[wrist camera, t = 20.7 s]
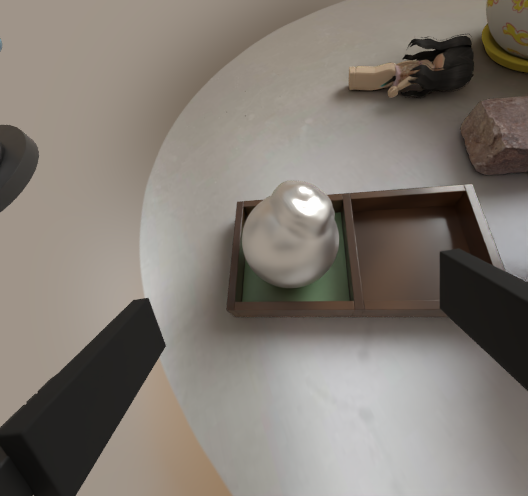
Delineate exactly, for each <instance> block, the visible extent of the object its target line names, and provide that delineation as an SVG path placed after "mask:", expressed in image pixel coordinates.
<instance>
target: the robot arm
mask: <svg viewBox="0 0 528 496" xmlns="http://www.w3.org/2000/svg"><path fill="white" fill-rule="evenodd" d="M1 49H2V41H1V39H0V51H1ZM4 154H5V149H4V146H3V144H2V143H1V142H0V166H1V164H2V161H3V159H4ZM440 309H441V310H442V311H443V312H444V313H445V314H446V315H447V316H448V317H449V318H450V319H452V320H453V321H454V322H455V323H456V324H457V325H458V326H459V327H460V328H461V329H462V330H463V331H464V332H465V333H466V334H468V335H469V336H470V337H471V338H472V339H473V340H474V341H475V342H476V343H477V344H478V345H479V346H480V347H481V348H483V349H484V350H485V351H486V352H487V353H488V354H489V355H490V356H491V357H492V358H493V359H494V360H495V361H496V362H498V363H499V364H500V365H501V366H502V367H503V368H504V369H505V370H506V371H507V372H508V373H509V374H510V375H511V376H512V377H514V378H515V379H516V380H517V381H518V382H519V383H520V384H521V385H522V386H523V387H524V388H525V389H526V390H527V391H528V283H527V282H525V281H523V280H521V279H519V278H517V277H515V276H513V275H511V274H509V273H507V272H505V271H503V270H501V269H499V268H497V267H495V266H493V265H491V264H489V263H487V262H485V261H483V260H481V259H479V258H477V257H475V256H473V255H471V254H469V253H467V252H465V251H463V250H461V249H459V248H458V249H452V250H446V251H440ZM165 347H166V345H165V342H164V339H163V337H162V334H161V331H160V328H159V326H158V323H157V320H156V318H155V315H154V312H153V309H152V307H151V304H150V301H149V299H148V298H144V299H138V300H133V301H132V302H131V303H130V304H129V305H128V306H127V307H126V308H125V309H124V310H123V311H122V312H121V313H120V314H119V315H118V316H117V317H116V318H115V319H113V320H112V321H111V322H110V323H109V324H108V325H107V326H106V327H105V328H104V329H103V330H102V331H101V332H100V333H99V334H98V335H97V336H96V337H95V338H94V339H93V340H92V341H91V342H90V343H89V344H88V345H87V346H86V347H85V348H84V349H83V350H82V351H81V352H80V353H79V354H78V355H77V356H75V357H74V358H73V359H72V360H71V361H70V362H69V363H68V364H67V365H66V366H65V367H64V368H63V369H62V370H61V371H60V372H59V373H58V374H57V375H55V376H54V377H53V378H51V379H50V380H49V381H48V382H47V383H46V384H45V385H44V386H43V387H42V388H41V389H40V390H39V391H38V393H37V394H34V395H33V396H32V398H30V399H29V400H28V401H27V404H26V405H23V406H22V407H21V408H20V409H19V410H18V411H17V412H16V413H15V414H14V415H13V416H12V417H11V418H10V419H9V420H8V421H6V422H5V423H4V424H3V425H2V426H1V427H0V496H33V495H34V496H76V494H77V492H78V491H79V489H80V487H81V485H82V484H83V482H84V481H85V479H86V477H87V476H88V474H89V473H90V471H91V469H92V468H93V466H94V464H95V463H96V461H97V459H98V457H99V456H100V454H101V453H102V451H103V449H104V448H105V446H106V444H107V443H108V441H109V439H110V438H111V436H112V434H113V433H114V431H115V429H116V428H117V426H118V425H119V423H120V421H121V419H122V418H123V416H124V415H125V413H126V411H127V410H128V408H129V406H130V405H131V403H132V401H133V400H134V398H135V396H136V395H137V393H138V391H139V390H140V388H141V386H142V385H143V383H144V381H145V380H146V378H147V376H148V375H149V373H150V371H151V370H152V368H153V366H154V365H155V363H156V362H157V360H158V358H159V357H160V355H161V353H162V352H163V350H164V348H165Z"/></svg>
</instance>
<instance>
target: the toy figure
mask: <svg viewBox="0 0 528 496" xmlns="http://www.w3.org/2000/svg"><path fill="white" fill-rule="evenodd" d="M462 35H464V34H462ZM469 35H470V34H469ZM457 36H459V35H457ZM453 37H455V36H453ZM422 38H423V37H422ZM425 38H427V37H425ZM451 38H452V37H451ZM434 39H435V38H434ZM436 40H437V39H436ZM440 41H441V40H440ZM411 43H412V45H411ZM471 43H472V42H471V40H470V38H468V37H467V36H459V37H455V38H452V39H449V40H446V41H443V42H437V41H434V40H432V39H423V40H422V39H413V40H412V41H411V42H410V44H409V45H411V46H413V45H418V46H420V47H422V48H424V47H425V49H436V50H434V51H423V52H420V53H417V54H415V55H413V56H412V55H404V58H403V59H408V60H407V61H404V62H401V63H398V64H394V63H386V64H383V65H380V66H376V67H368V66H357V67H356V69H355V67H349V90H353V89H354V90H371V91H372V90H377V89H381V88H385V87H389V86H391V85H392V84H393V86H392V87H390V89H389V90H388V96H389V97H390V98H392V97H395V96H396V95H397V94H398V90H401V89H403V88H405V87H407V86H409V85H411V84H419V85H421V86H422V87H423V88H425V90H423V91H421V92H418V91H408V92H405V93H404V92H401V94H402V95H404V96H411V95H414V96H424V95H426V94H428V93H429V92H431V91H432V90H453V89H458V88H460V87H462V86H464V85H466V84H467V83H469V81H470V79H471V77H472V76H473V74H472V72H473V68H474V62H473V51H472V48H471V45H472V44H471ZM411 46H410V47H411ZM408 47H409V46H408ZM407 49H408V48H407ZM403 59H402V60H403ZM415 59H417V60H415ZM431 62H432V63H431ZM464 87H465V86H464ZM458 90H459V89H458ZM455 91H456V90H455ZM445 92H450V91H445ZM451 92H452V91H451ZM429 94H430V93H429ZM426 96H427V95H426ZM424 97H425V96H424ZM406 98H407V97H406ZM409 98H410V97H409ZM416 98H417V97H416ZM422 98H423V97H422Z"/></svg>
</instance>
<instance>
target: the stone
mask: <svg viewBox="0 0 528 496" xmlns="http://www.w3.org/2000/svg"><path fill="white" fill-rule="evenodd" d="M460 130H461V134H462V137H463V138H464V139H465V146H466V147H467V152H468V154H469V159H470V160H471V163H472V165H474V167H475V170H476V171H478V172H480V173H482V174H485V175H496V174H506V173H518V172H528V96H525V97H522V96H517V97H510V98H493V99H486V100H482V101H480V102H479V103H478V104H477V105H476V107H475V108H474V109H473V110H472V111H471V112H470V113H469V115H468V116H467V117H466V118H465V120H464V122H463V123H462V124H461V128H460Z"/></svg>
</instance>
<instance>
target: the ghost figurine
mask: <svg viewBox="0 0 528 496" xmlns="http://www.w3.org/2000/svg"><path fill="white" fill-rule="evenodd" d="M334 218H335V212H334V209H333V206H332V202H331V200H330V198H329V197H328V196H327V195H326V194H325V193H324V192H323V191H321V190H320V189H319V188H317V187H316V186H314V185H312V184H310V183H307V182H302V181H286V182H283V183H281V184H280V185H279V186H278V187H277V188H276V189H275V190H274V192H273V193H272V195H271V196H269V197H267V198H266V199H264V200H263V201H261V202H260V203H259V204H258V205H257V206H256V207H255V208H254V209H253V210H252V211H251V213H250V214H249V216H248V218H247V220H246V222H245V225H244V228H243V233H242V247H243V252H244V255H245V258H246V260H247V262H248V264H249V266H250V267H251V269H252V270H253V271H254V272H255V274H256V275H258V276H259V277H260V278H261V279H262V280H264V281H266V282H267V283H269V284H272V285H274V286H277V287H282V288H299V287H303V286H307V285H309V284H311V283H313V282H315V281H317V280H318V279H320V278H321V277H322V276H323V275H324V274H325V273H326V272H327V271H328V270H329V269H330V267H331V266H332V264H333V262H334V260H335V258H336V255H337V252H338V247H339V233H338V228H337V225H336V222H335V220H334Z"/></svg>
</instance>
